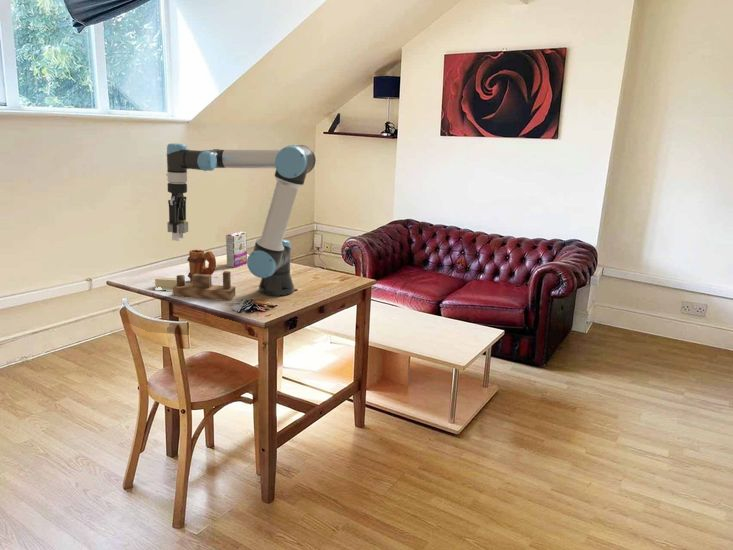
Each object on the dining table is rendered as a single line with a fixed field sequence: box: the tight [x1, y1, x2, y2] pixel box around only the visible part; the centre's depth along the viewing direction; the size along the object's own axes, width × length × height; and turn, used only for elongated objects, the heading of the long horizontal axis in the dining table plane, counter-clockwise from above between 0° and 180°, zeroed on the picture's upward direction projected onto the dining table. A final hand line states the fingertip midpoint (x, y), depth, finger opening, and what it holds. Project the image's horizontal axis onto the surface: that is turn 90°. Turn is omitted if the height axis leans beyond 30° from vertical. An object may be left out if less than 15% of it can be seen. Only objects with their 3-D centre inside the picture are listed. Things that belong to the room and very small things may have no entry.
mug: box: [187, 249, 217, 283], centre depth 253 cm, size 15×8×15 cm, turn 62°
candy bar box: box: [225, 231, 248, 269], centre depth 286 cm, size 11×5×16 cm, turn 157°
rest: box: [154, 276, 177, 292], centre depth 245 cm, size 10×10×4 cm
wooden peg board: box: [172, 270, 237, 302], centre depth 235 cm, size 24×7×11 cm, turn 85°
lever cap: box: [166, 220, 189, 234], centre depth 234 cm, size 7×4×5 cm, turn 86°
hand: (178, 239), depth 236 cm, fingers closed on lever cap, 4 cm apart
